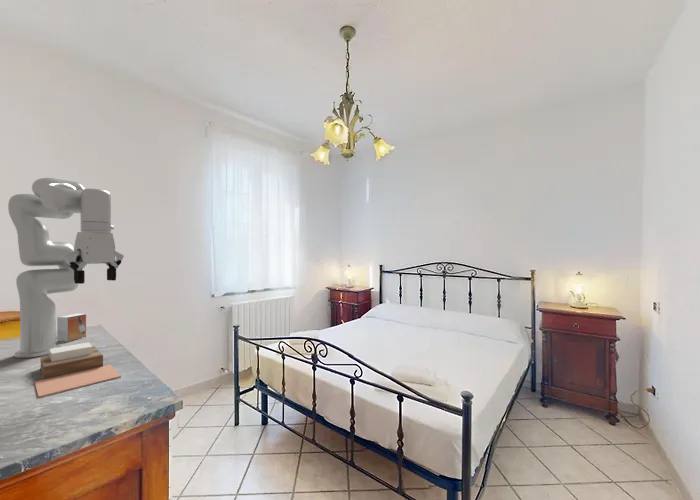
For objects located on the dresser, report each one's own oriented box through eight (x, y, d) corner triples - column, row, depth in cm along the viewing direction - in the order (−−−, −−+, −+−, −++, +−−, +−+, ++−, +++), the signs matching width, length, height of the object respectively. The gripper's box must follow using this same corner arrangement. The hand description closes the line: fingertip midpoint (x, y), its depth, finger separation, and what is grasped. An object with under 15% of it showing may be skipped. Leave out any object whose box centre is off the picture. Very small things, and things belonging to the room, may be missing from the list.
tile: (49, 356, 103) (49, 349, 103) (88, 349, 110) (88, 342, 110) (51, 361, 98) (51, 353, 98) (92, 353, 106) (92, 346, 106)
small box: (67, 342, 132) (67, 317, 132) (56, 341, 133) (56, 316, 133) (86, 337, 140) (86, 313, 140) (76, 336, 141) (76, 313, 141)
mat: (34, 382, 92) (34, 381, 92) (110, 365, 105) (110, 364, 105) (38, 397, 83) (38, 396, 83) (121, 377, 96) (121, 375, 96)
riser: (40, 368, 103) (40, 356, 103) (94, 357, 113) (94, 346, 113) (44, 380, 94) (44, 367, 94) (103, 367, 104) (103, 355, 104)
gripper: (114, 230, 109) (114, 279, 109) (56, 226, 93) (56, 284, 93) (130, 229, 107) (130, 279, 107) (74, 226, 90) (74, 285, 91)
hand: (96, 281), depth 100 cm, fingers open, 9 cm apart
